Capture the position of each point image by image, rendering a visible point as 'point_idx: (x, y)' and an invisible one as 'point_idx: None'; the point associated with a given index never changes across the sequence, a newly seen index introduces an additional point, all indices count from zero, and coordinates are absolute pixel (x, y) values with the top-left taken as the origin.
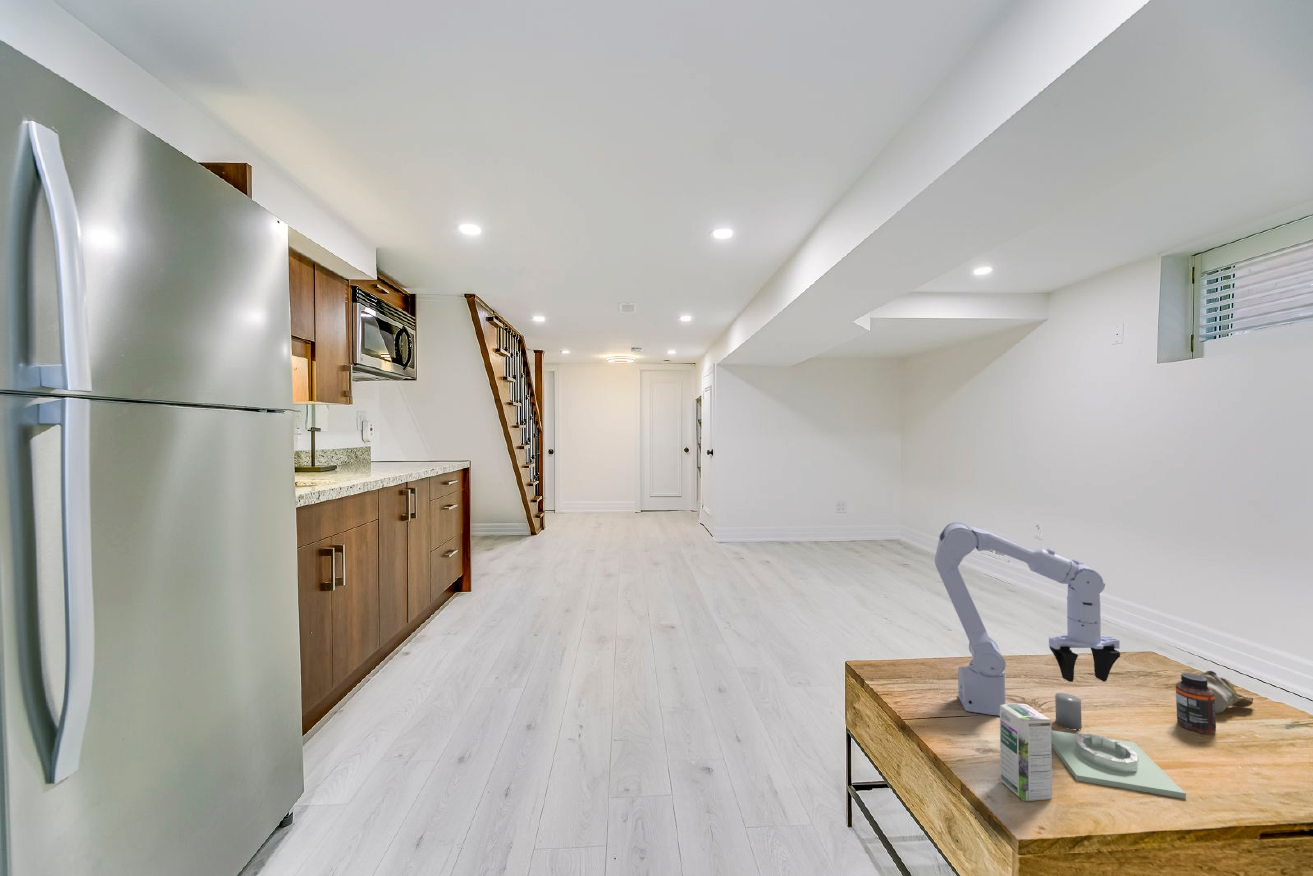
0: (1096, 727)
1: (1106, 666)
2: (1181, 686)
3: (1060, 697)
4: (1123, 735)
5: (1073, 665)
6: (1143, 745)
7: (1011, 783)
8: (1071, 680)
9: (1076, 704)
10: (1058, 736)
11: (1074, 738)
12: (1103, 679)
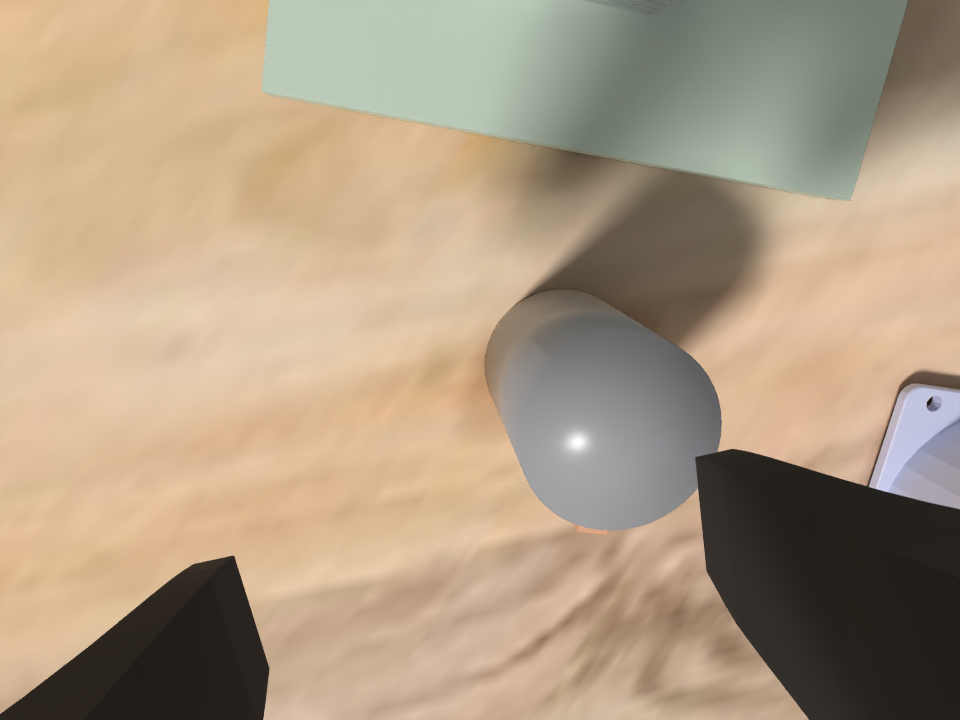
0: (377, 357)
1: (107, 713)
2: None
3: (690, 432)
4: (241, 270)
5: (901, 544)
6: (174, 138)
7: None
8: (728, 456)
9: (606, 332)
10: (803, 101)
11: (702, 86)
12: (228, 573)
